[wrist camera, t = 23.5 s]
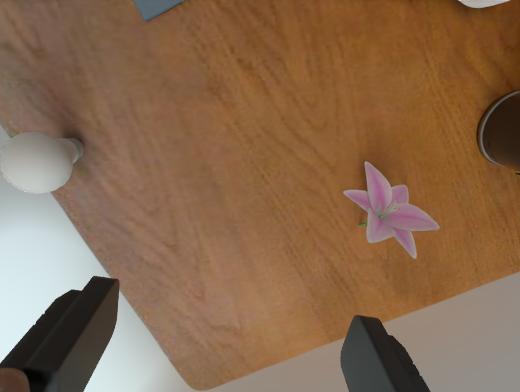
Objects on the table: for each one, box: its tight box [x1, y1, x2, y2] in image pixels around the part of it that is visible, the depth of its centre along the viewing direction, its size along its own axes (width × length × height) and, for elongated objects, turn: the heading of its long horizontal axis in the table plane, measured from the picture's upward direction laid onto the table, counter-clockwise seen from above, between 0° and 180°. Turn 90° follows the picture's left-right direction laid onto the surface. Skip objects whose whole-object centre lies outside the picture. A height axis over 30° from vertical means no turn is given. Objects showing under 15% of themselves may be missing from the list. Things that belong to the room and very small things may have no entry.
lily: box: [343, 161, 440, 259], centre depth 41 cm, size 12×12×10 cm
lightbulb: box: [0, 132, 84, 193], centre depth 35 cm, size 6×6×11 cm
